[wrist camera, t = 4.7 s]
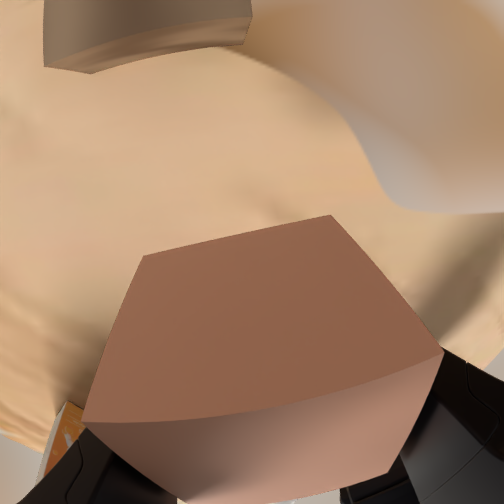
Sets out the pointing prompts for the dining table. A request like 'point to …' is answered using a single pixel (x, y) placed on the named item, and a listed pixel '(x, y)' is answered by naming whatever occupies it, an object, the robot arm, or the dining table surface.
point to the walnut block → (136, 30)
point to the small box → (61, 437)
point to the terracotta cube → (262, 367)
